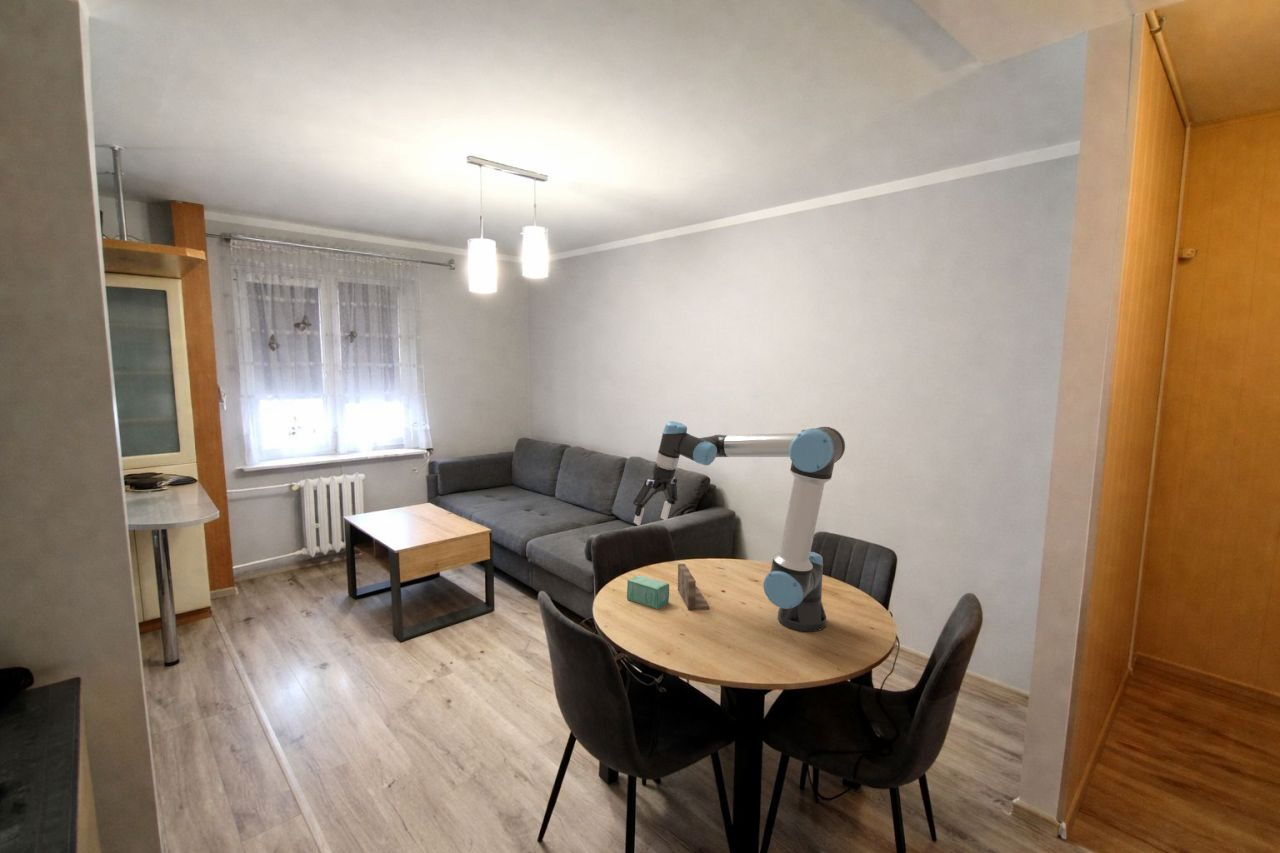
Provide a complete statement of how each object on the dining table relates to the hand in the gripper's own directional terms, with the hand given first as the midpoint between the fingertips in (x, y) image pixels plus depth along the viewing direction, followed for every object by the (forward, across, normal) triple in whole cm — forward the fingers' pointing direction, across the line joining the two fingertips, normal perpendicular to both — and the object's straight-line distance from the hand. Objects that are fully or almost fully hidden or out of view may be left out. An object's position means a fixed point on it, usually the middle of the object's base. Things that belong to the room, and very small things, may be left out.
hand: (650, 521), depth 195 cm
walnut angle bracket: (+23, -12, +18) cm, 32 cm away
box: (+27, +1, +9) cm, 28 cm away
